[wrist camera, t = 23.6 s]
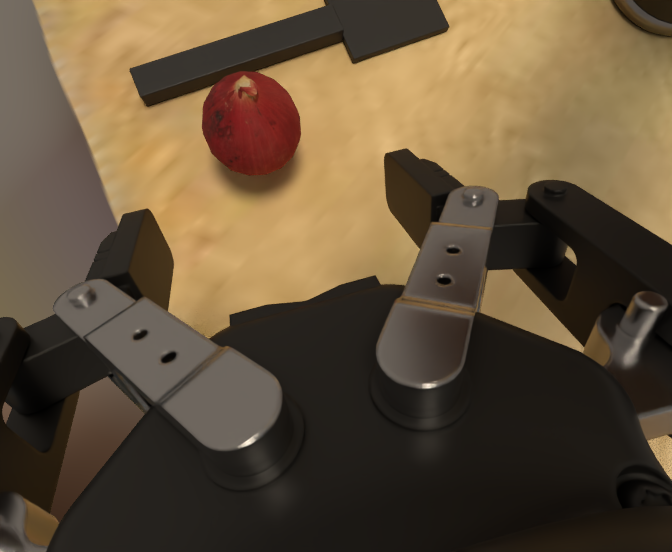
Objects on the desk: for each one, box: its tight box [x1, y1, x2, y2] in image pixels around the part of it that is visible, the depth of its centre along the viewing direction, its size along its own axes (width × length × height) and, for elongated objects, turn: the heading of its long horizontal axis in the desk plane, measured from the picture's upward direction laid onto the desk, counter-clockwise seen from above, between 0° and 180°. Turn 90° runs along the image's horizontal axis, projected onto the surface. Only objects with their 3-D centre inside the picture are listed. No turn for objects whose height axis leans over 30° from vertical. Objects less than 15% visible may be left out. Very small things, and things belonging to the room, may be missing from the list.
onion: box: [202, 71, 301, 175], centre depth 23 cm, size 6×6×8 cm
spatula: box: [130, 0, 449, 106], centre depth 28 cm, size 23×6×1 cm, turn 113°
